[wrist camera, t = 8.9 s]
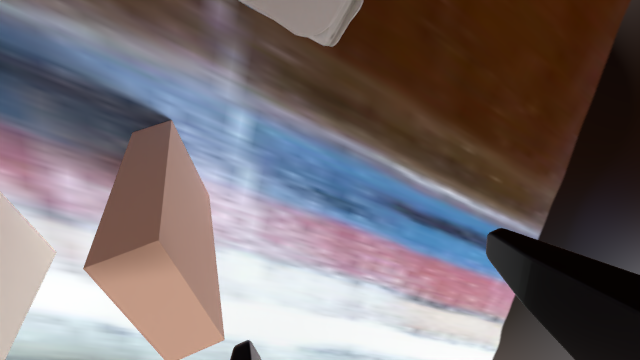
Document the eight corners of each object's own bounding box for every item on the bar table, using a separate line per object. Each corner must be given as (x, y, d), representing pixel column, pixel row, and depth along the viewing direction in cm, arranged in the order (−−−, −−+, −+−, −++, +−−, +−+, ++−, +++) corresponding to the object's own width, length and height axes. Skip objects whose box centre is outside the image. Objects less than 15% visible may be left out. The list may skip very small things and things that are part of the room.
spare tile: (171, 119, 18) (159, 239, 9) (209, 195, 20) (224, 339, 12) (132, 132, 17) (83, 268, 9) (175, 207, 20) (168, 364, 12)
